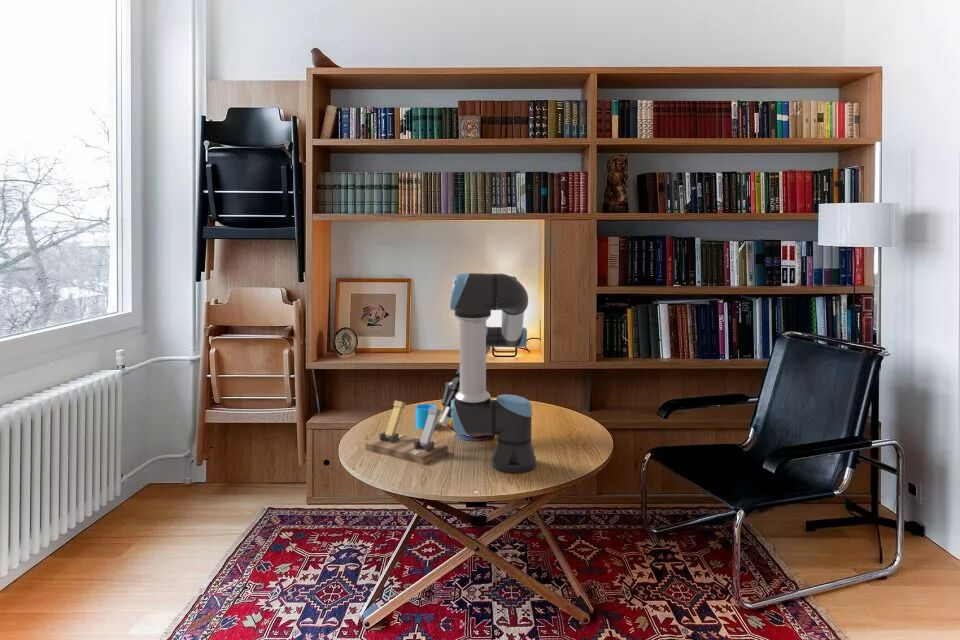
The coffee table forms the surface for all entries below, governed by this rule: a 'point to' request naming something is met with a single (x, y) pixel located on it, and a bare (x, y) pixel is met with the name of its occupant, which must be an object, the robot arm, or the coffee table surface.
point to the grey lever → (429, 426)
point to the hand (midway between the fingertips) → (442, 423)
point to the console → (406, 448)
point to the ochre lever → (395, 418)
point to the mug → (422, 414)
